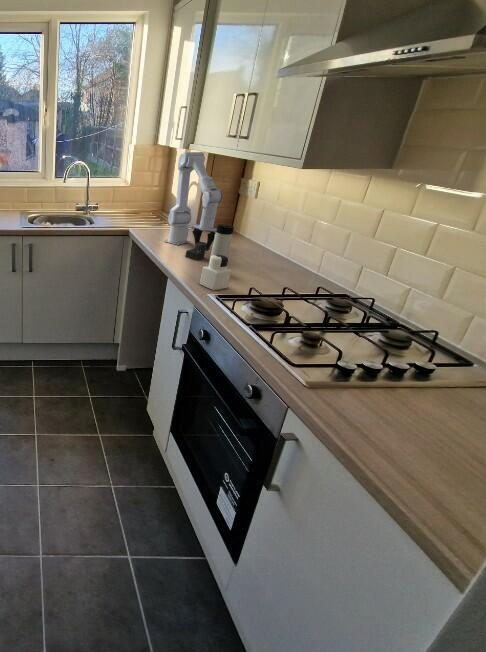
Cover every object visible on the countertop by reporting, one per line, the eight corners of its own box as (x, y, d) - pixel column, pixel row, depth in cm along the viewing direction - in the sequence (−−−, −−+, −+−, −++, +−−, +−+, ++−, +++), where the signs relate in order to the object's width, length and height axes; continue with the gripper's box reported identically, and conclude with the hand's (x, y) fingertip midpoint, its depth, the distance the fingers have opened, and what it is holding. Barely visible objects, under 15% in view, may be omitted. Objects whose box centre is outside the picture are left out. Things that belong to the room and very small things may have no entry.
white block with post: (213, 281, 162) (219, 252, 157) (227, 288, 156) (234, 257, 151) (199, 284, 160) (205, 254, 155) (213, 290, 154) (219, 260, 149)
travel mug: (203, 270, 174) (213, 223, 166) (214, 268, 177) (225, 222, 168) (215, 275, 169) (226, 227, 161) (227, 273, 172) (238, 225, 163)
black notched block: (192, 254, 194) (193, 248, 193) (203, 258, 190) (205, 251, 188) (185, 256, 191) (186, 250, 190) (197, 260, 187) (198, 253, 185)
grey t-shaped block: (199, 247, 195) (200, 241, 194) (209, 250, 191) (210, 243, 190) (191, 249, 191) (193, 243, 190) (201, 252, 188) (203, 246, 187)
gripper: (188, 215, 189) (183, 244, 194) (218, 221, 178) (212, 251, 184) (197, 213, 193) (191, 242, 198) (227, 219, 182) (220, 249, 188)
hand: (202, 246), depth 191 cm, fingers closed on grey t-shaped block, 5 cm apart
